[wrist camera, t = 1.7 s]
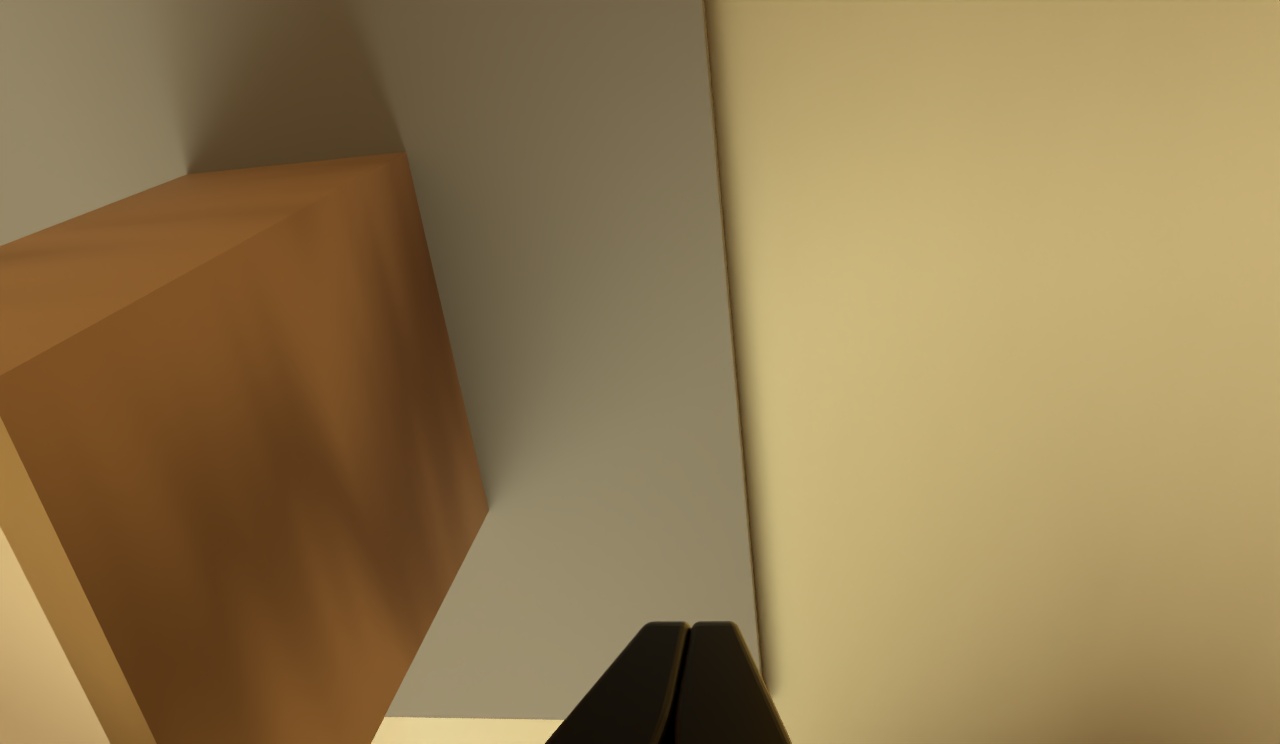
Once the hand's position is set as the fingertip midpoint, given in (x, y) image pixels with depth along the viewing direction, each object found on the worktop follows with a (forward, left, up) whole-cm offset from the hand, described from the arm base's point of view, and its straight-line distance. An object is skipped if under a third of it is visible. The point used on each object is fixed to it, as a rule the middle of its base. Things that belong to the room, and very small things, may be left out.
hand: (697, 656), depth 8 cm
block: (0, +7, -8) cm, 10 cm away
